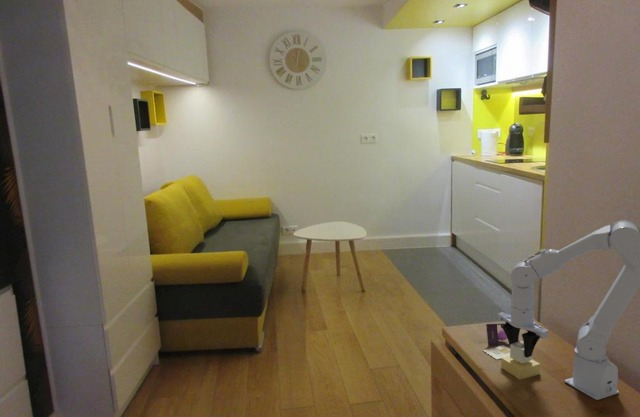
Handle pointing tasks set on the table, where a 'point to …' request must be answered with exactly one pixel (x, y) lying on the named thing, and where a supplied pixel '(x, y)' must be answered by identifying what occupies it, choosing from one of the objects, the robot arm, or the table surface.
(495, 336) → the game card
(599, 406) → the table surface
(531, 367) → the base brick
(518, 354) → the top brick
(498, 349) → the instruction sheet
